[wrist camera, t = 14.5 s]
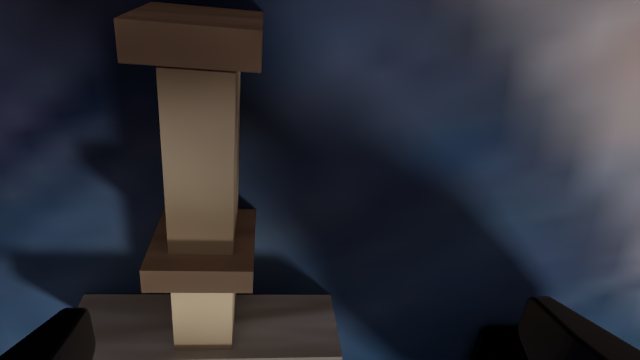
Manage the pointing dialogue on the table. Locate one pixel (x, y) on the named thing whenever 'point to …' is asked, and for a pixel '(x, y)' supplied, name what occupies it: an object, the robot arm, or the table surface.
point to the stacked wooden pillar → (203, 208)
